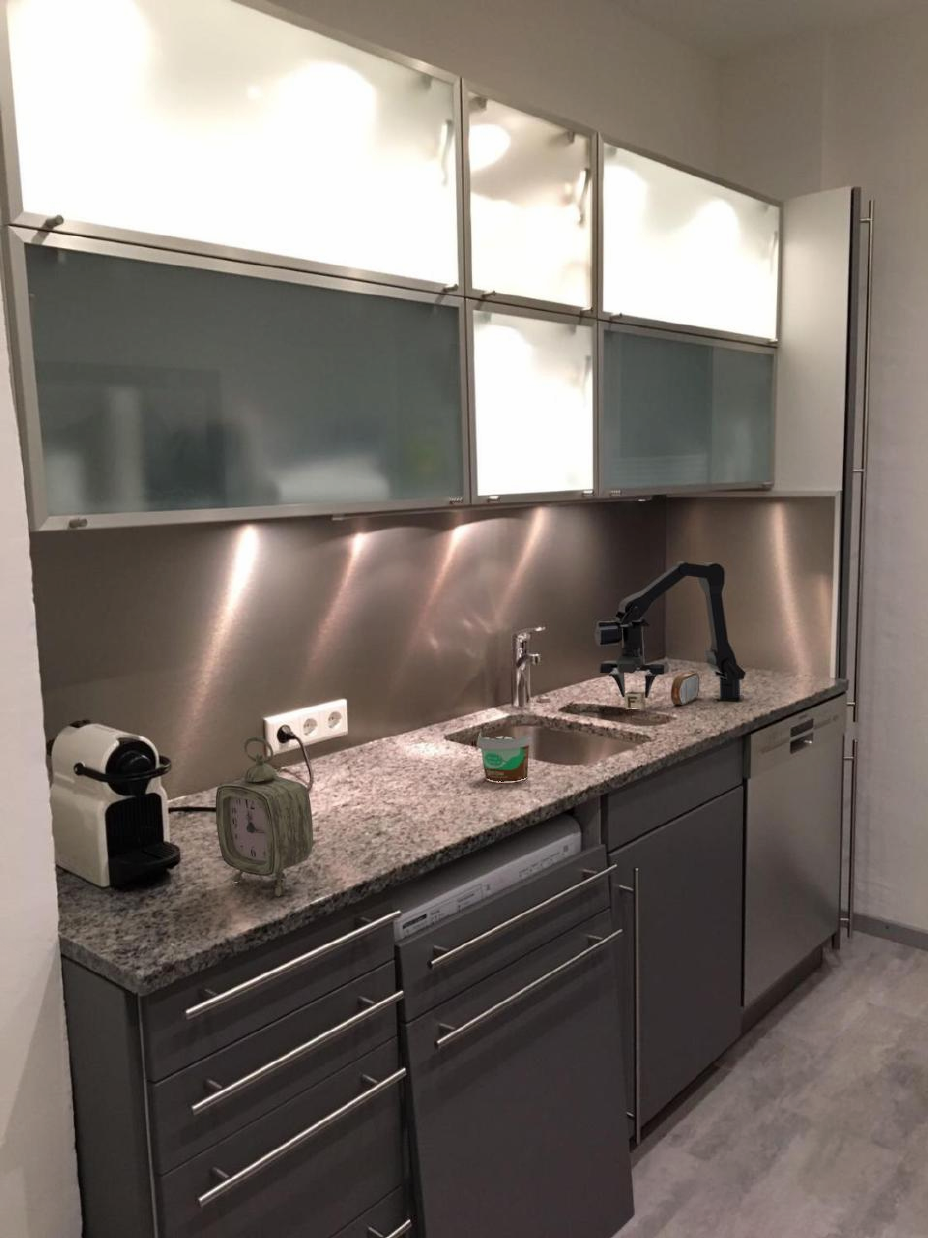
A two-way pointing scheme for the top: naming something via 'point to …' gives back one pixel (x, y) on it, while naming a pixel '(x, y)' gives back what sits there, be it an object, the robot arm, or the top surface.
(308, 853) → the tabletop clock
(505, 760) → the food container
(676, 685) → the tin
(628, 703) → the letter cube
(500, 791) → the top surface
